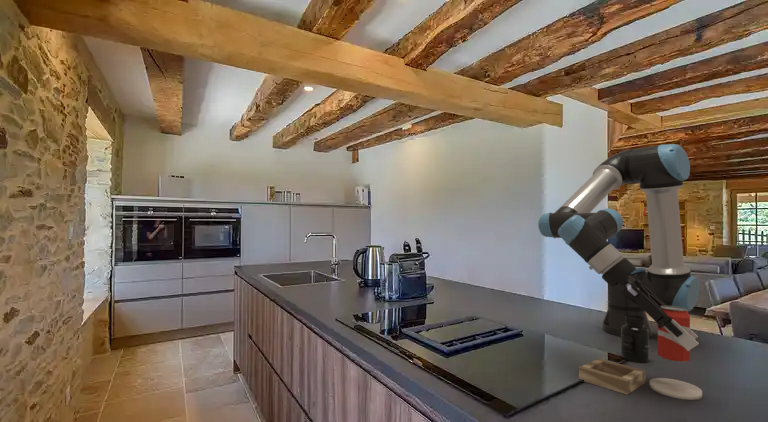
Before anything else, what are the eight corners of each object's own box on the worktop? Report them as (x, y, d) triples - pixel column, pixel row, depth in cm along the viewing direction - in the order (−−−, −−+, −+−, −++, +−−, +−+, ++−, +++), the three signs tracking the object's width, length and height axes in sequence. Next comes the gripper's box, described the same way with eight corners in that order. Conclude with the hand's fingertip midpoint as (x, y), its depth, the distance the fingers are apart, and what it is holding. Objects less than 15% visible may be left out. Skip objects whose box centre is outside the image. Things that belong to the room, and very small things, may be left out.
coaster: (658, 378, 102) (658, 374, 102) (707, 392, 94) (707, 387, 94) (643, 388, 96) (642, 384, 96) (694, 404, 88) (694, 399, 88)
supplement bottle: (653, 364, 113) (653, 320, 113) (626, 362, 114) (626, 319, 115) (643, 356, 120) (642, 315, 120) (617, 354, 121) (617, 313, 121)
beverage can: (697, 362, 93) (696, 310, 93) (676, 365, 91) (675, 311, 92) (671, 354, 99) (671, 304, 99) (651, 356, 97) (651, 305, 97)
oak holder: (598, 369, 108) (598, 358, 108) (645, 382, 100) (645, 370, 100) (578, 379, 101) (578, 367, 101) (627, 394, 93) (627, 381, 93)
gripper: (605, 272, 112) (678, 343, 102) (593, 279, 97) (678, 364, 87) (628, 254, 109) (705, 325, 99) (619, 259, 94) (710, 343, 84)
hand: (692, 343), depth 93 cm, fingers closed on beverage can, 6 cm apart
